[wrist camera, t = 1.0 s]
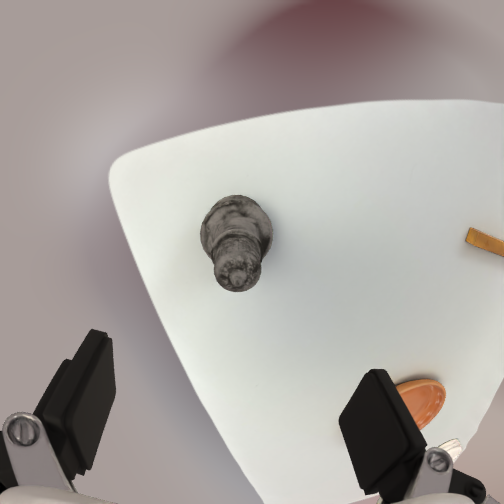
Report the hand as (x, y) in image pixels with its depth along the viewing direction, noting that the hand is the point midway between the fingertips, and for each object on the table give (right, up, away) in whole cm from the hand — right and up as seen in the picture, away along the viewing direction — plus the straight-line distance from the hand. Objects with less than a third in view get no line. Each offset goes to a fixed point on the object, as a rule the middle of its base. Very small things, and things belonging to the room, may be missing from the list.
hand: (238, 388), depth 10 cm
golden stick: (+33, +6, +21) cm, 40 cm away
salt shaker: (-1, +7, +18) cm, 20 cm away
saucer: (+24, -20, +31) cm, 44 cm away
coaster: (+48, -45, +42) cm, 77 cm away
